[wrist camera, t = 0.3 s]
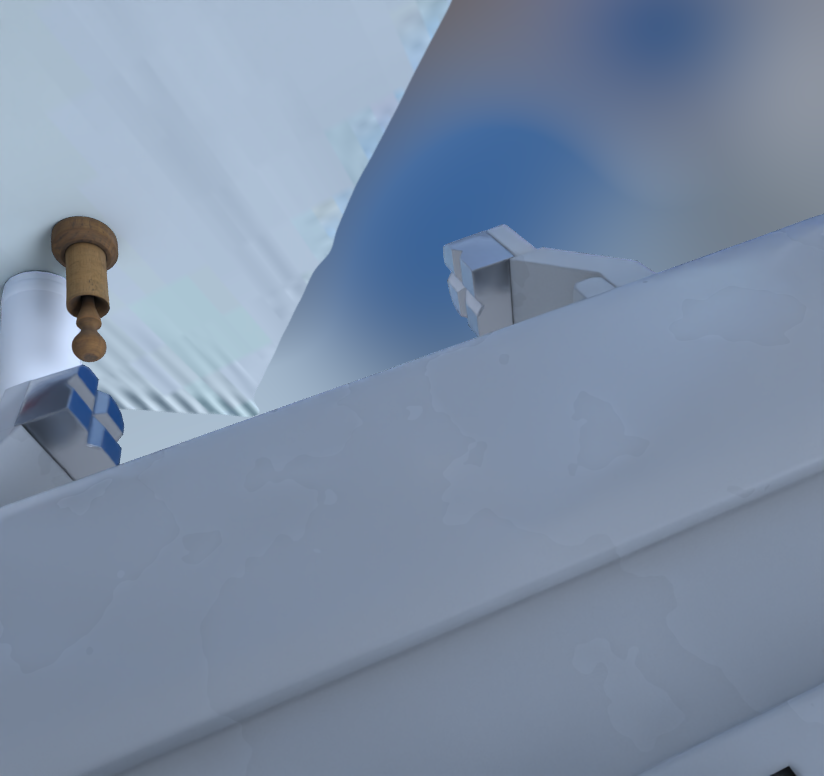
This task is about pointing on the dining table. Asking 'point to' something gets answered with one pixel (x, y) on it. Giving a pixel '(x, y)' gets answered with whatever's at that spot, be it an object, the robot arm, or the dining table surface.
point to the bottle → (35, 329)
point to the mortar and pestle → (86, 278)
